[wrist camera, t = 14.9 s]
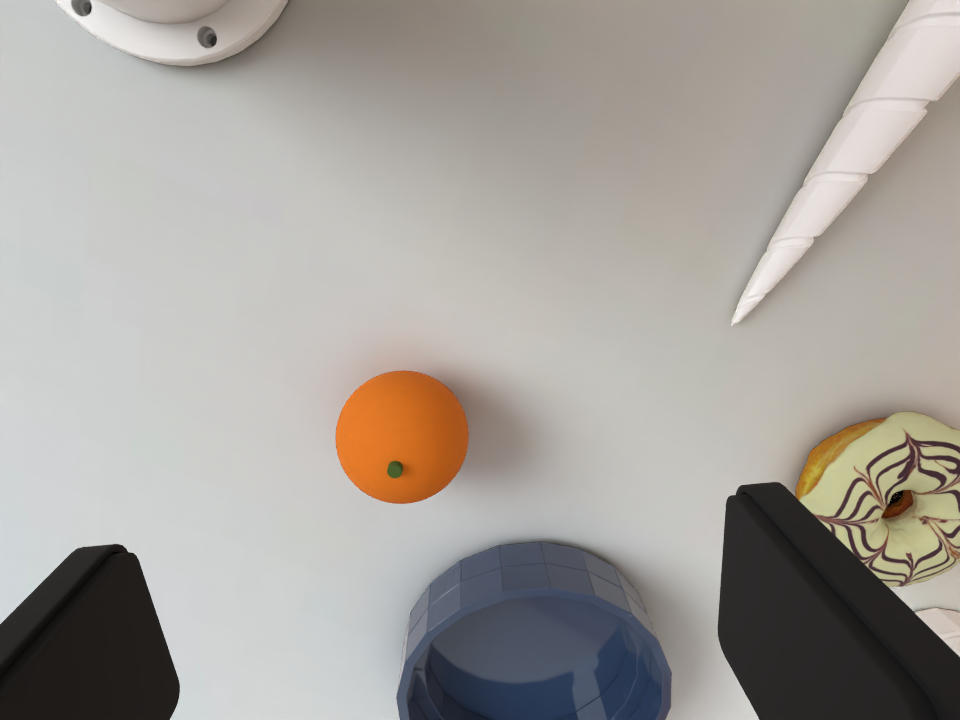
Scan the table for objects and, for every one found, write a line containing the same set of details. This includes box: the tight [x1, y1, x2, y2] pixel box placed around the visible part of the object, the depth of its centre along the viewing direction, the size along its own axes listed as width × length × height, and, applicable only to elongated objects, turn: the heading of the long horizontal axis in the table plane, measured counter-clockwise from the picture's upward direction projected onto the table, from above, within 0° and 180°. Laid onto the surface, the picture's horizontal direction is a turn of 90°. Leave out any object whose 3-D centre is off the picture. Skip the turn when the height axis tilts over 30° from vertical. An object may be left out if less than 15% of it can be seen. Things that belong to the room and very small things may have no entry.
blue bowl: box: [396, 542, 672, 720], centre depth 36 cm, size 16×16×5 cm
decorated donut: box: [796, 412, 960, 587], centre depth 33 cm, size 10×11×4 cm
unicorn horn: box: [731, 0, 960, 325], centre depth 26 cm, size 5×24×5 cm, turn 149°
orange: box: [336, 371, 469, 504], centre depth 29 cm, size 7×7×7 cm
